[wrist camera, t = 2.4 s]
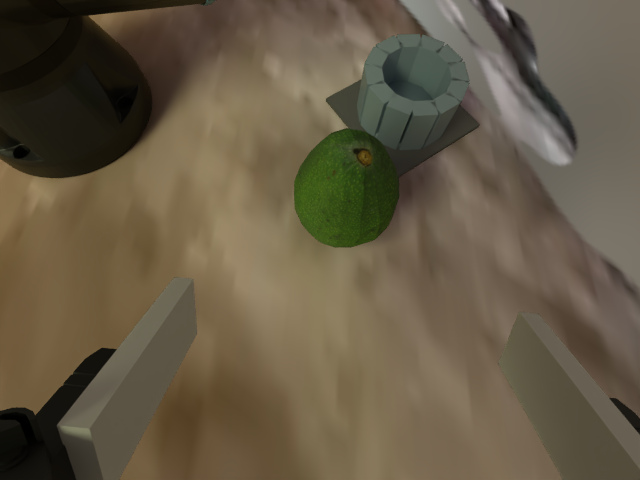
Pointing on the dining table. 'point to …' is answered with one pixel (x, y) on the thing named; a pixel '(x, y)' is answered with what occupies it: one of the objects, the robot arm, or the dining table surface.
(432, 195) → the dining table surface
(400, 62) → the bowl
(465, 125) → the placemat
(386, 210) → the avocado
